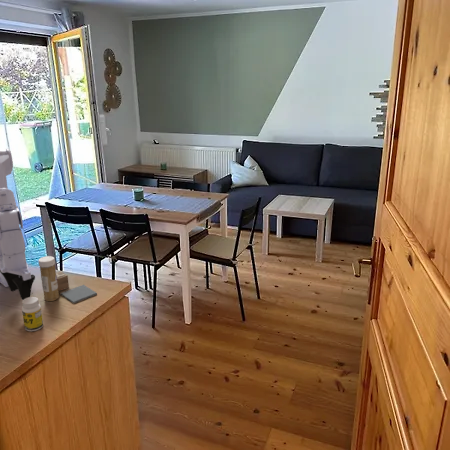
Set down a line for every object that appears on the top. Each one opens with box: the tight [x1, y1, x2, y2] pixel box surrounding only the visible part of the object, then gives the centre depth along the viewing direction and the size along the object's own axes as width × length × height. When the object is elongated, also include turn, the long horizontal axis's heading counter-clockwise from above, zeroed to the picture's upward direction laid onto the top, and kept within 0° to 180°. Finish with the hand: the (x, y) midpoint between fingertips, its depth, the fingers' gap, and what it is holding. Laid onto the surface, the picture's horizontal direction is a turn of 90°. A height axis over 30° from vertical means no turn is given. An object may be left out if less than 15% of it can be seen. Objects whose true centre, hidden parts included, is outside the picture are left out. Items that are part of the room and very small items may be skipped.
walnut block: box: [56, 271, 70, 292], centre depth 138 cm, size 4×4×5 cm
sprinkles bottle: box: [38, 255, 60, 302], centre depth 130 cm, size 5×5×13 cm
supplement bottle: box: [21, 296, 44, 332], centre depth 115 cm, size 5×5×8 cm
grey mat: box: [60, 284, 98, 304], centre depth 134 cm, size 8×8×1 cm
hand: (20, 294), depth 124 cm, fingers open, 7 cm apart
